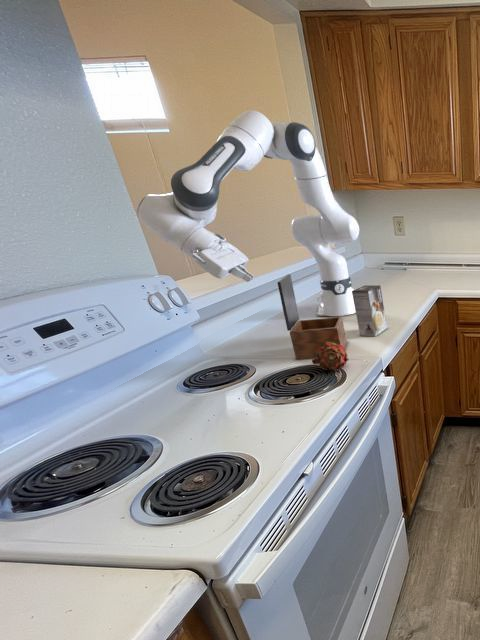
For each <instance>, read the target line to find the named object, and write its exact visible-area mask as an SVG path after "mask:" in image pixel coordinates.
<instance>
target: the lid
mask: <svg viewBox="0 0 480 640" xmlns="http://www.w3.org/2000/svg"><path fill="white" fill-rule="evenodd" d="M277 288H278V293H279V296H280V302H281V306H282V311H283V317H284V320H285V325H286V330H287V332H290V331H291V330H292V328H293V327H294V326H295V324H296V323H297V322H298V321H299V320H300V315H299V311H298V305H297V301H296V296H295V295H296V294H295V290H294V286H293V279H292V275H291V274H289V273H288V274H287V275H285V276H284V277H281V279H280V280H278V281H277Z"/></svg>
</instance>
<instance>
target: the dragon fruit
mask: <svg viewBox="0 0 480 640" xmlns="http://www.w3.org/2000/svg"><path fill="white" fill-rule="evenodd" d="M345 348H346V347H345ZM345 348H344V347H343V346H341V345H340V344H338V345H337V344H335V343H333V342H327V343H326V344H325V345H324V346H323V347H319V348H318V350H317V351H316V354H315V355H314V358H311V363H312V364H313V365H319V367H320V369H321V368H324V369H322V370H324V371H326V372H327V371H331V372H339V371H340V370H341V369H343V368H344V366H345V365H347V362H348V361H349V360H350V359H349V357H348V354H347V352H346V349H345ZM316 355H317V356H316ZM315 356H316V357H315ZM326 368H327V369H326Z"/></svg>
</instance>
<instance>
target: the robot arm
mask: <svg viewBox="0 0 480 640" xmlns="http://www.w3.org/2000/svg"><path fill="white" fill-rule="evenodd" d="M316 146H317V145H316V140H315V136H314V134H313V133H312V131H311V129H310V128H309V127H308V126H306V125H305V124H303V123H299V122H296V121H295V122H294V121H293V122H290V121H283V120H282V121H281V120H280V121H279V120H277V121H270V119H269V118H268V117H267V116H265V114H263V113H262V112H260V111H258V110H254V109H249V110H246V111H243V112H242V113H241V114H239V115H238V116H237V117H235V118H234V119H233V120H232V121H231V122H230V123H229V124H228V125H227V127H225V129H224V130H223V131H222V133H221V134H220V136H219V137H218V139H217V141H216V142H215V143H214V144H213V145H212V146H211V147H210V148H209V149H208V150H207V151H206V152H205V153H204V154H203V155H202V156H201V157H200V159H198V160H197V161H195V162H194V163H192V164H191V165H188V166H186V167H183V168H180V169H179V170H177V171H176V172H174V173H173V174H172V177H171V179H170V187H171V191H172V192H170V193H165V194H164V193H163V194H147V195H146V196H144V197H143V198H142V199H141V200H140V203H139V204H138V208H137V209H136V210H137V211H136V212H137V218H138V220H139V222H140V223H141V224H142V225H143V226H145V228H147V229H148V230H150V231H151V232H152V233H154V234H155V235H156V236H158V237H160V238H161V240H164V241H165V242H168V243H170V244H172V245H173V246H175V247H176V248H177V249H178V250H179V251H180V252H182V253H183V254H185V255H186V256H188V258H189V257H190V258H191V259H192V260H194V262H195V264H196V265H198V266H199V267H200V268H202V269H203V270H204V271H206V273H208V274H210V275H211V276H213V277H215V278H217V279H219V280H220V279H221V280H222V279H223V278H225V277H227V276H228V275H232V276H233V277H237V278H239V279H242V280H243V281H245V282H246V283H249V282H251V281H252V280H253V279H254V278H255V276H254V274H252V273H251V272H250V271H249V270H248V269H247V268H246V267H245V266H246V265H247V263H248V262H249V260H250V259H249V258H248V256H247V255H246V254H244V253H243V251H241V250H239V249H238V248H237V247H236V246H234V245H233V244H232V243H230V242H228V241H227V238H225V237H224V236H223V235H222V234H218V233H214V232H212V231H210V230H208V229H206V227H207V226H209V225H210V224H211V223H212V222H213V221H214V220H215V219H216V218H217V217H216V216H217V212H218V201H219V200H218V199H219V195H220V186H221V183H222V182H223V180H224V179H225V178H226V177H227V176H228V175H229V173H231V172H232V170H237V171H241V172H250V171H251V170H253V169H254V168H255V167H256V166H257V165H259V163H260V162H261V161H262V160H263V158H266V159H272V160H273V159H275V160H282V161H289V163H290V164H291V169H292V173H293V177H294V180H295V183H296V186H297V189H298V193H299V196H300V199H301V201H302V202H304V203H305V204H306V205H308V206H310V207H312V208H314V209H316V211H317V212H318V213H319V214H305V215H300V216H297V217H294V218H293V220H292V221H291V224H290V232H291V235H292V237H293V238H294V239H295V240H296V241H297V242H298V243H299V244H301V245H303V246H304V247H305V248H306V249H307V250H308V251H309V252H310V254H311V255H312V256H313V258H314V260H315V262H316V265H317V270H318V273H319V278H320V280H319V286H320V288H321V292H320V294H319V296H318V297H317V298H316V299H317V303H318V304H319V306H318V310H317V316H318V317H344V316H348V315H353V314H356V311H355V305H354V300H353V295H352V291H353V290H356V289H355V288H353V287H352V286H353V285H352V284H353V283H352V279H351V277H350V274H349V269H348V264H347V260H346V258H345V257H344V256H343V255H342V254H340V253H339V252H336V251H334V250H333V249H332V248H331V246H330V245H335V244H347V243H351V242H355V241H356V240H357V239H358V237H359V236H360V226H359V223H358V221H357V219H356V218H355V217H354V216H353V215H351V214H350V213H348V212H347V211H346V210H344V208H342V207H341V206H340V204H339V203H338V202H337V200H336V198H335V197H334V194H333V191H332V189H331V188H332V187H331V185H330V181H329V178H328V175H327V171H326V167H325V164H324V161H323V159H322V156H321V154H320V152H319V149H318V147H316Z"/></svg>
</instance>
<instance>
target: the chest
mask: <svg viewBox="0 0 480 640" xmlns="http://www.w3.org/2000/svg"><path fill="white" fill-rule="evenodd" d="M289 336H290V340H291V345H292V348H293V352H294V356H295V359H296V360H304V359H315V358H316V356H317V355H316V356H315V357H314V355H315V354H316V351H317V350H318V348H319V347H323V346H324V345H325V344H326V343H327V342H333V343H335V344H337V345H338V344H340V345H341V346H343V347H344V348H346V346H347V342H348V340H347V336H346V331H345V325H344V319H343V316H332V317H325V318H324V317H322V318H312V319H301V320H300V319H299V320H298V321H297V323H296V324H295V325H294V327H293V328H292V329H291V330H290V331H289Z"/></svg>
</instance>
